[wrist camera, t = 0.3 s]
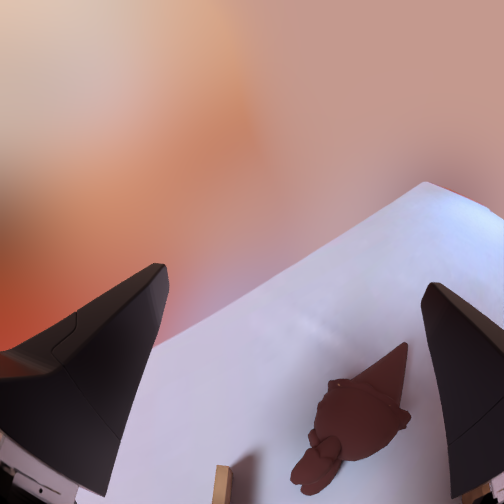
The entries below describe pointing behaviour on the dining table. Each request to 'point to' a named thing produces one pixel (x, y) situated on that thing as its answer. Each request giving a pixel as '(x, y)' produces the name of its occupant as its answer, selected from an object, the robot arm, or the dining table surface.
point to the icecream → (354, 421)
